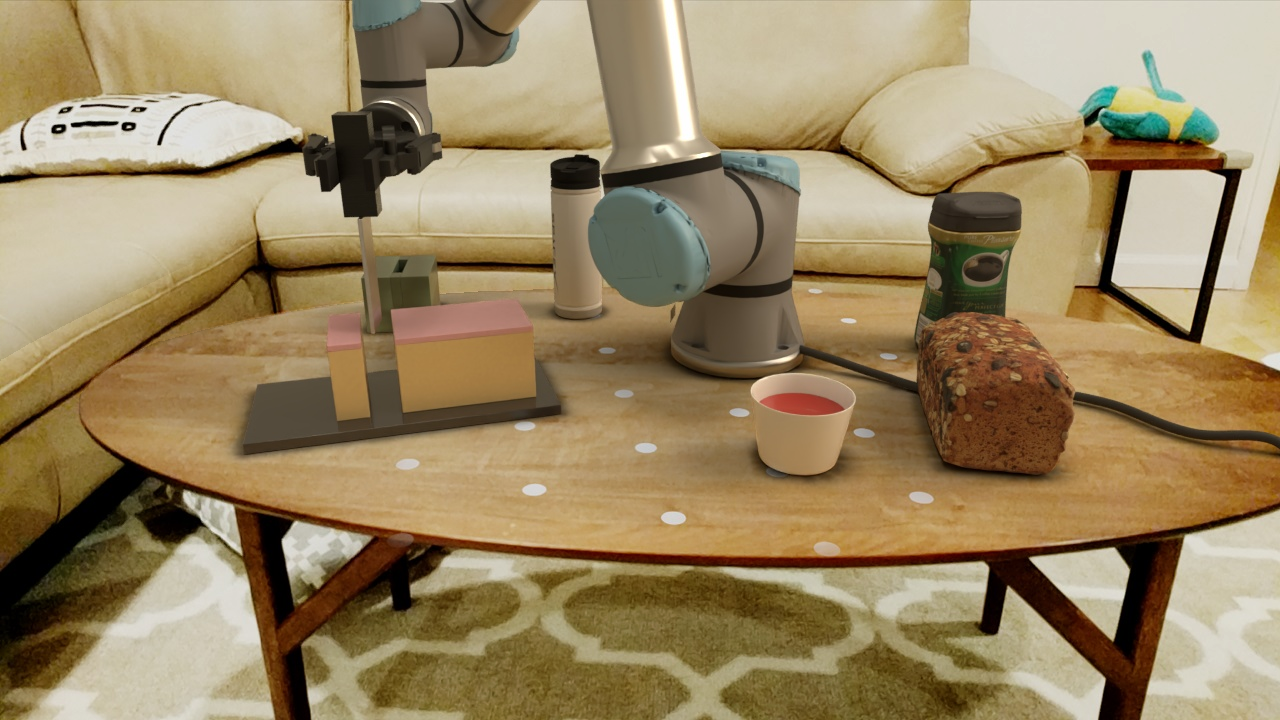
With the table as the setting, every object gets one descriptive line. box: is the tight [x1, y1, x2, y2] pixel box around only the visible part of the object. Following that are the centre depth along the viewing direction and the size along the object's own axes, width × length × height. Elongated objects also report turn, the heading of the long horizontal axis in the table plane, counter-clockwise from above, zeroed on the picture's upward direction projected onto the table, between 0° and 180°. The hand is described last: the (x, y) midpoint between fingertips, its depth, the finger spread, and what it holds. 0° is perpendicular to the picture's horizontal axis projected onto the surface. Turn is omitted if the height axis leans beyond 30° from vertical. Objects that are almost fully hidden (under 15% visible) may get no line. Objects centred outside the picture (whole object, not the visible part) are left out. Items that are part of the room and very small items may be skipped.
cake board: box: [242, 354, 562, 455], centre depth 87 cm, size 29×14×1 cm, turn 107°
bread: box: [915, 312, 1076, 476], centre depth 81 cm, size 19×11×10 cm, turn 170°
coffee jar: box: [913, 191, 1023, 346], centre depth 99 cm, size 10×8×19 cm
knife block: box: [360, 254, 441, 334], centre depth 110 cm, size 8×10×7 cm
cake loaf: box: [391, 297, 536, 413], centre depth 87 cm, size 13×9×8 cm
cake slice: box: [326, 312, 370, 421], centre depth 84 cm, size 3×9×8 cm, turn 17°
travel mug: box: [549, 153, 603, 320], centre depth 111 cm, size 6×7×20 cm
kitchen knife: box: [330, 110, 383, 335], centre depth 80 cm, size 3×4×20 cm
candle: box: [749, 372, 857, 476], centre depth 76 cm, size 9×9×6 cm
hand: (346, 175), depth 73 cm, fingers closed on kitchen knife, 3 cm apart
